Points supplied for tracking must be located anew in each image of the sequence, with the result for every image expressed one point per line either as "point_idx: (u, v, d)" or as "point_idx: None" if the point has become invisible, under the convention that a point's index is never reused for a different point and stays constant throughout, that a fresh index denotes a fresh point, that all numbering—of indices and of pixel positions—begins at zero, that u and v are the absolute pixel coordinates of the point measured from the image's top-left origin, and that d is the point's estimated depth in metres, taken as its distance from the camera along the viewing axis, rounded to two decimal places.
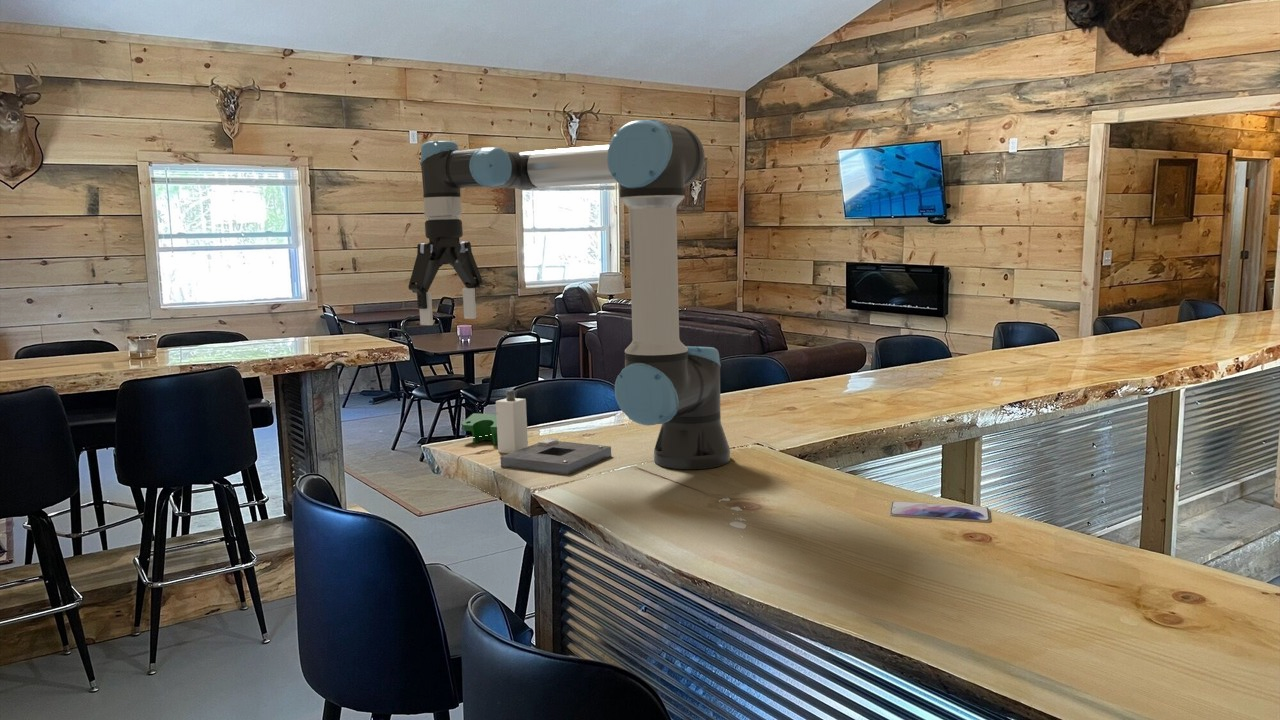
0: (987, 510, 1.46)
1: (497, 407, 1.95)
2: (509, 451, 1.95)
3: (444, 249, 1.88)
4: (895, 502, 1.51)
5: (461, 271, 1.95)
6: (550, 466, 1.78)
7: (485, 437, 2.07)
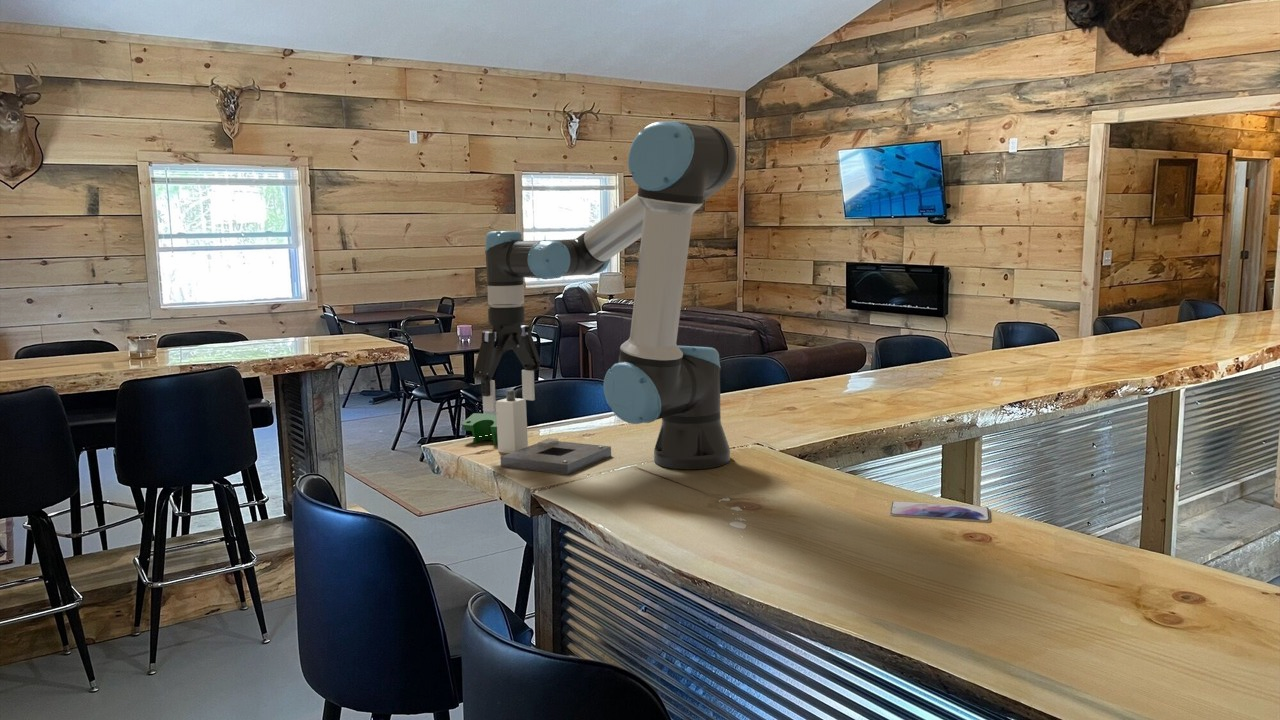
0: (987, 510, 1.46)
1: (497, 407, 1.95)
2: (509, 451, 1.95)
3: (507, 336, 1.92)
4: (895, 502, 1.51)
5: (521, 354, 1.98)
6: (550, 466, 1.78)
7: (485, 437, 2.07)
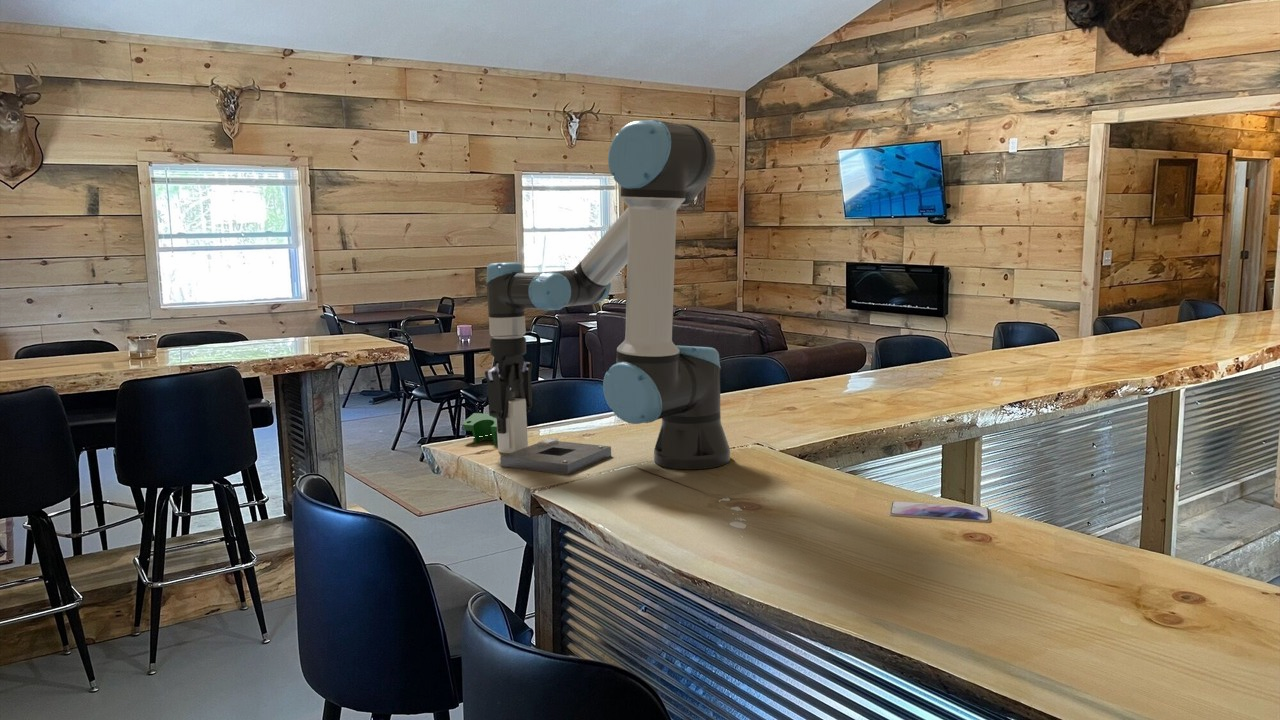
0: (987, 510, 1.46)
1: None
2: (509, 451, 1.95)
3: (509, 369, 1.92)
4: (895, 502, 1.51)
5: (516, 390, 1.97)
6: (550, 466, 1.78)
7: (486, 437, 2.07)
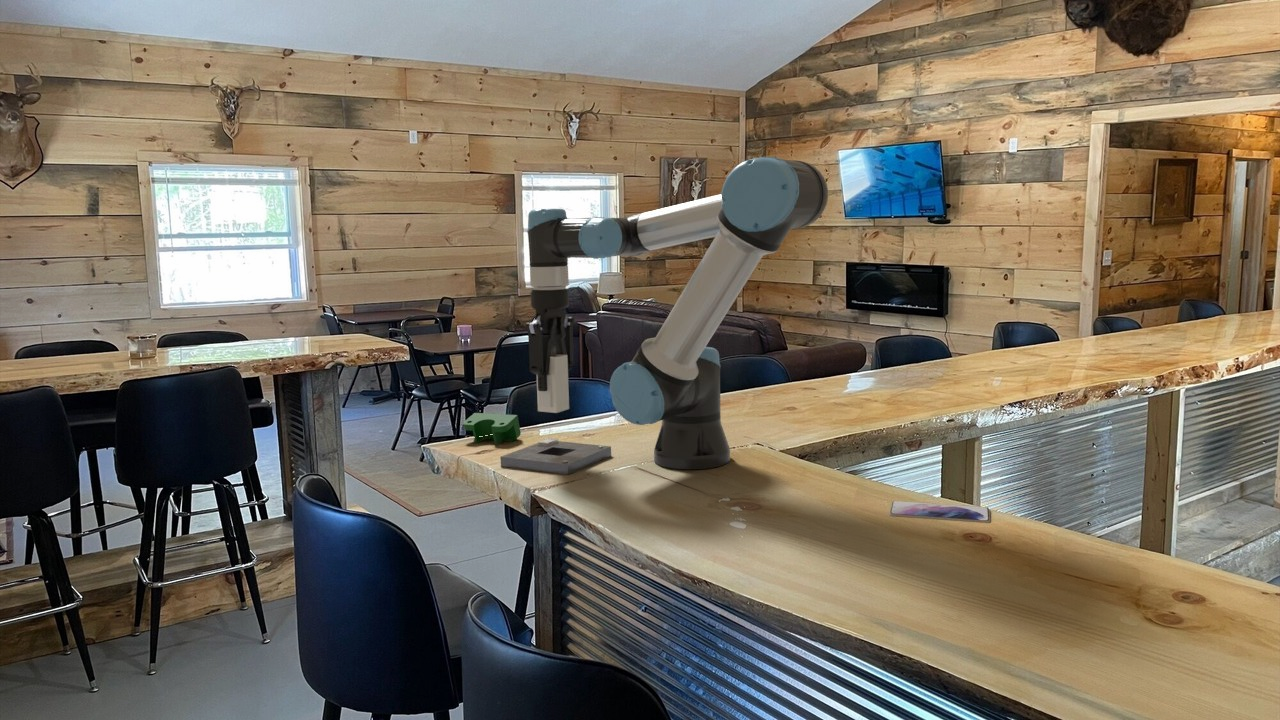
0: (987, 510, 1.45)
1: None
2: (550, 410, 1.83)
3: (551, 322, 1.81)
4: (895, 501, 1.51)
5: (558, 346, 1.85)
6: (550, 466, 1.78)
7: (486, 436, 2.07)
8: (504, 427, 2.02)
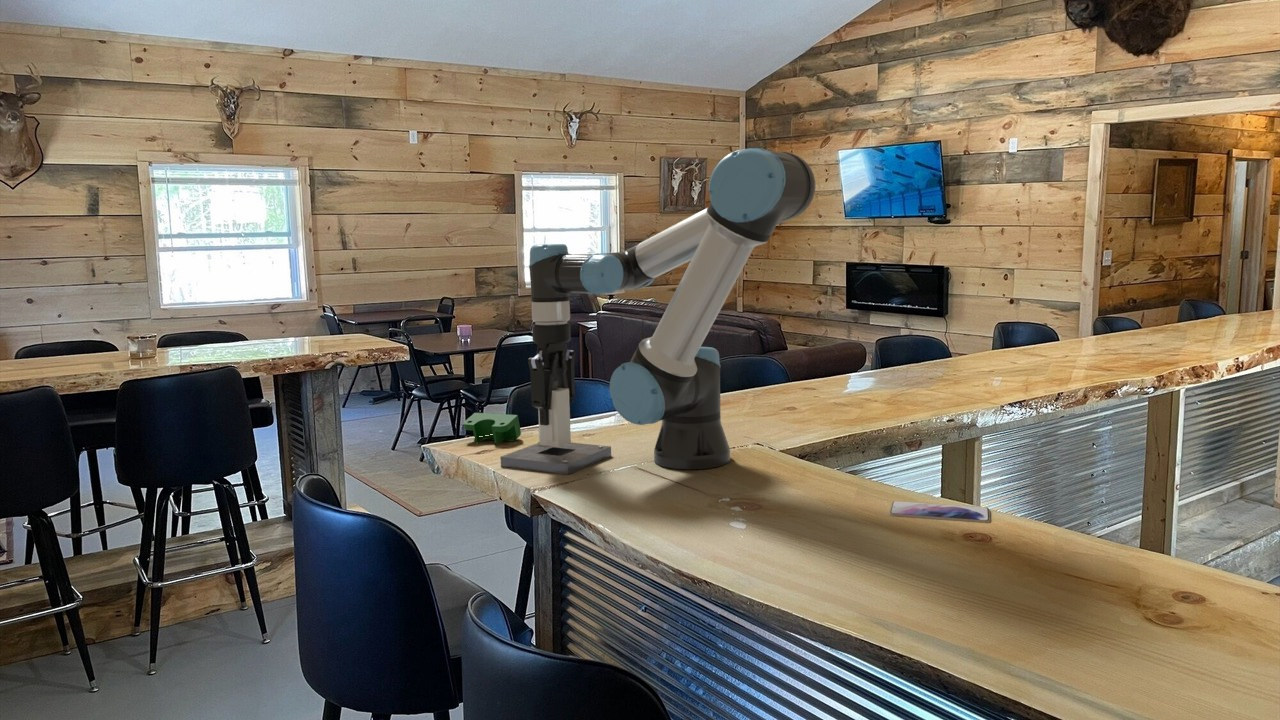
0: (987, 510, 1.45)
1: None
2: (551, 444, 1.84)
3: (553, 356, 1.82)
4: (895, 502, 1.51)
5: (559, 380, 1.86)
6: (550, 466, 1.78)
7: (486, 436, 2.07)
8: (504, 427, 2.02)
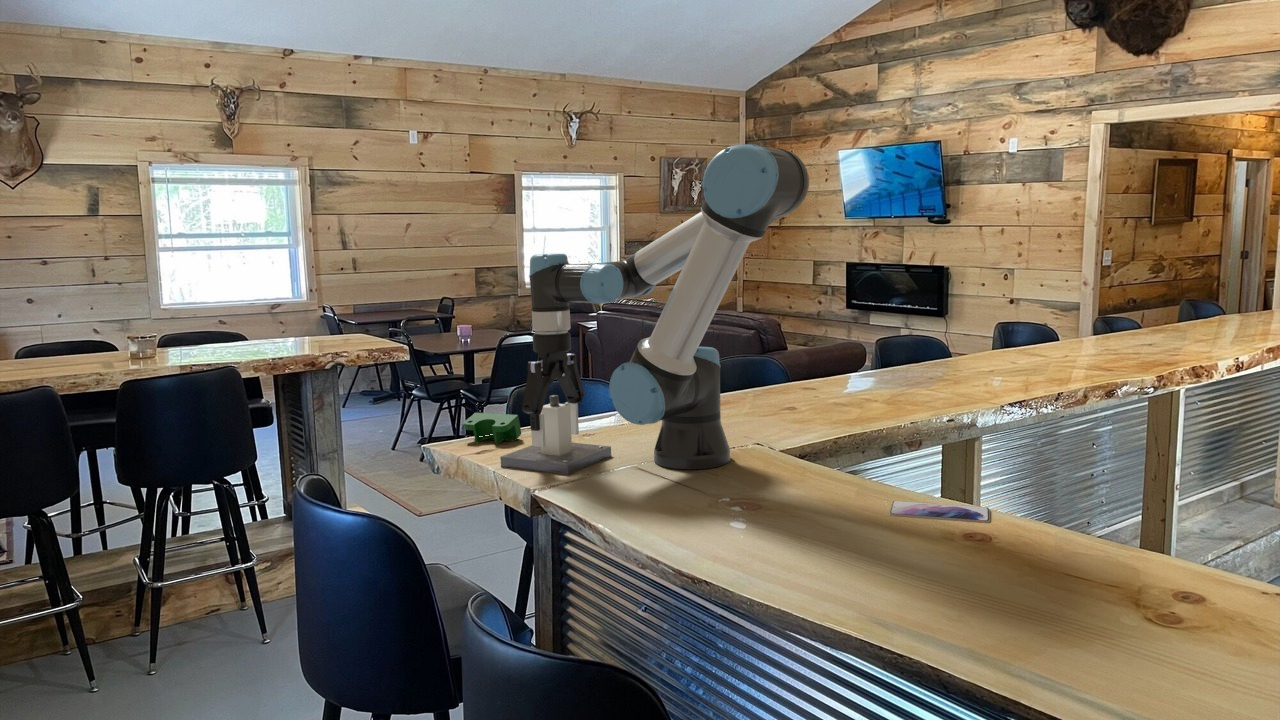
0: (987, 510, 1.45)
1: None
2: None
3: (553, 365, 1.82)
4: (896, 502, 1.51)
5: (565, 385, 1.88)
6: (550, 466, 1.78)
7: (487, 436, 2.08)
8: (505, 427, 2.02)
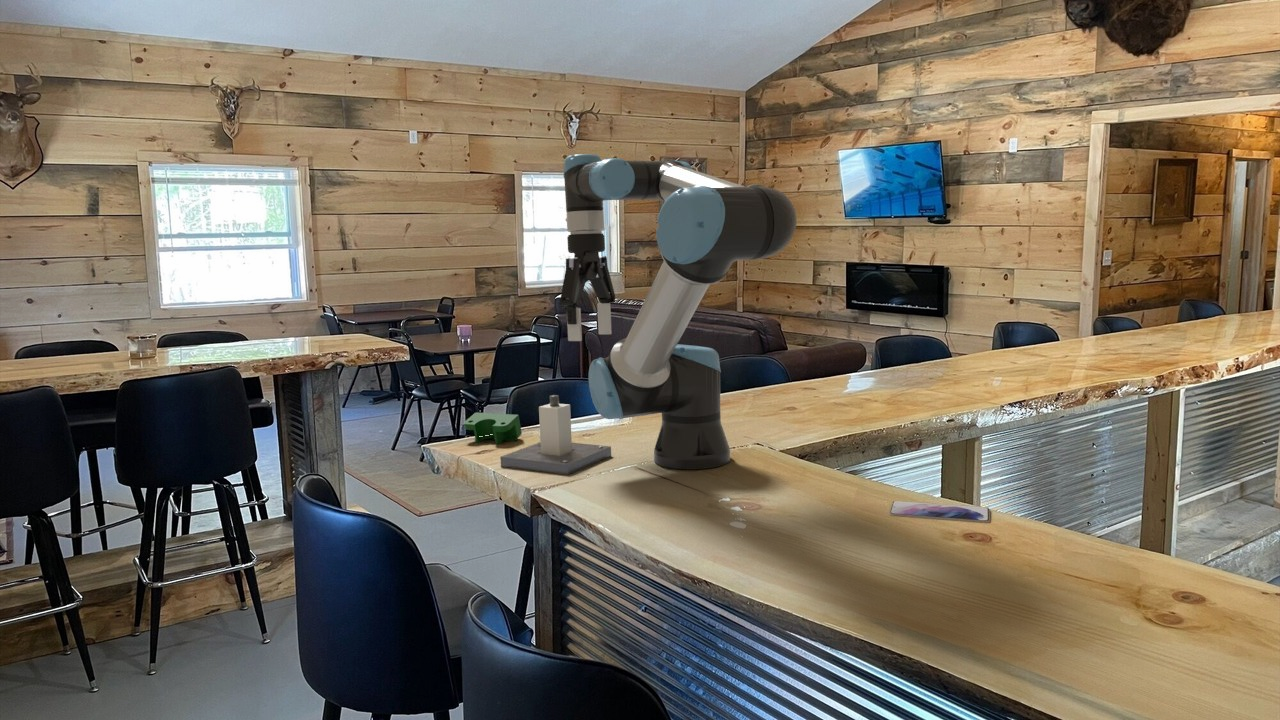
0: (987, 510, 1.45)
1: (540, 413, 1.85)
2: None
3: (589, 264, 1.86)
4: (896, 501, 1.51)
5: (598, 286, 1.92)
6: (550, 466, 1.78)
7: (487, 436, 2.08)
8: (505, 427, 2.02)
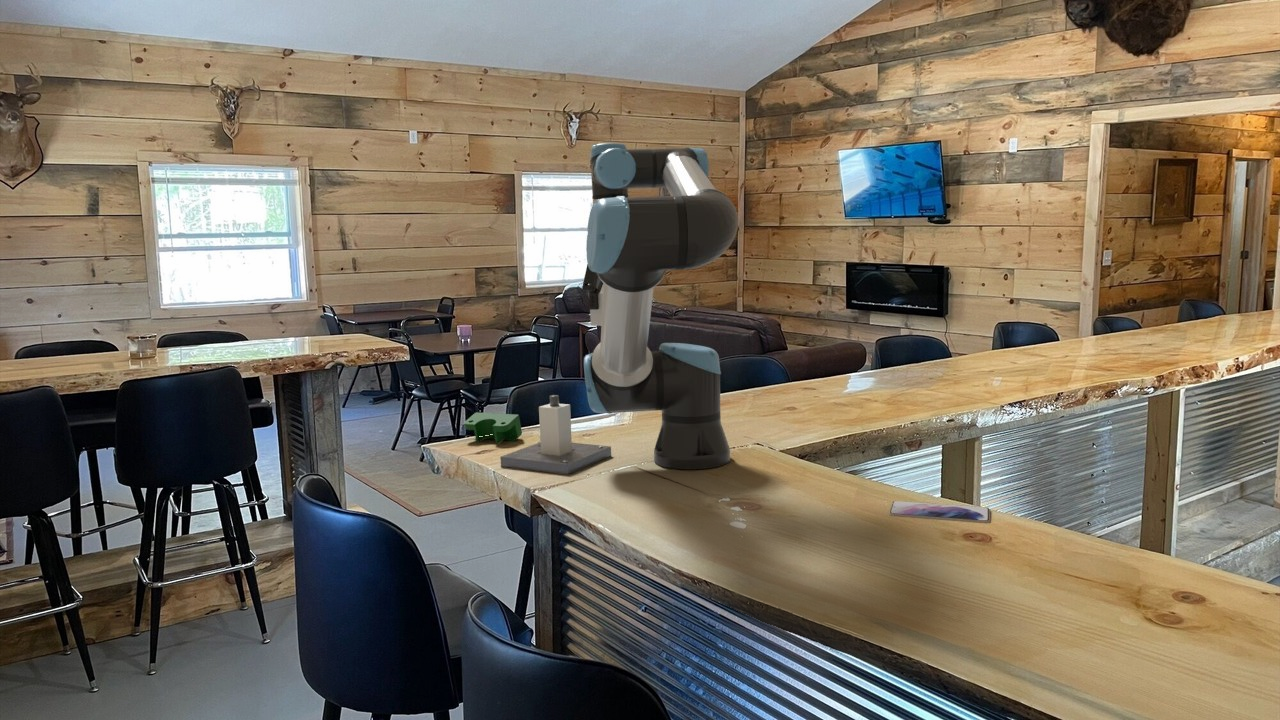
0: (987, 510, 1.45)
1: (540, 413, 1.85)
2: None
3: None
4: (896, 501, 1.51)
5: None
6: (550, 466, 1.78)
7: (487, 436, 2.08)
8: (505, 426, 2.02)
